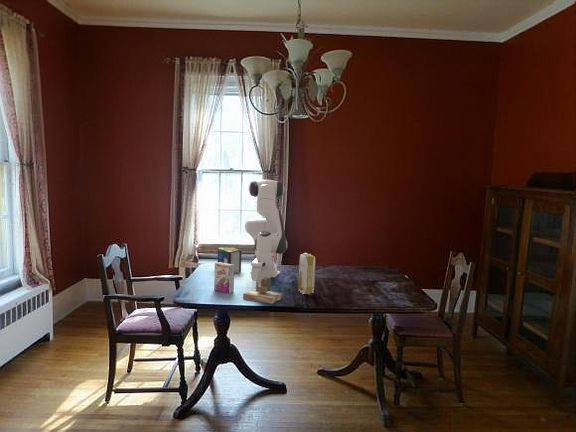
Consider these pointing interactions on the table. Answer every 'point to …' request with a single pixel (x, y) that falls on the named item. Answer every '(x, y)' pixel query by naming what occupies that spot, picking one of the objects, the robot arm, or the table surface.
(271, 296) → the plinth
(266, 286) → the walnut block
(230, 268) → the candy bar box
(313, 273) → the juice carton
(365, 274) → the table surface
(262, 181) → the robot arm
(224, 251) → the protein box
